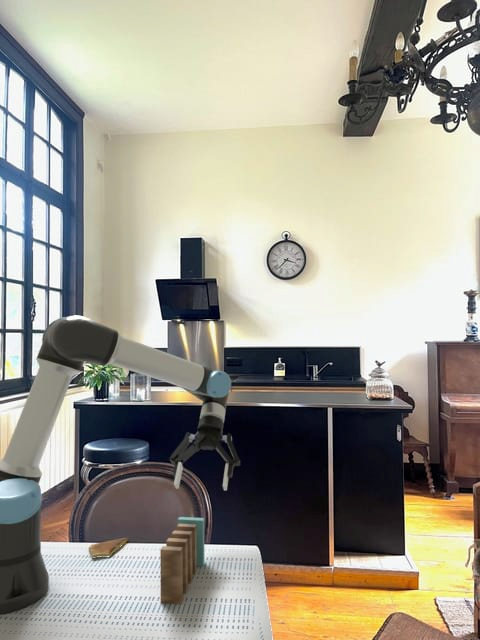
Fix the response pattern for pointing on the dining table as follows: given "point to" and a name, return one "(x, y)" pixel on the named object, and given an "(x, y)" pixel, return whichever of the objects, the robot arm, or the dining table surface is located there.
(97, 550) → the shard
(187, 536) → the domino
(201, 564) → the domino
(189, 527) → the domino
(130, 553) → the dining table surface
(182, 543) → the domino
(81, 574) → the dining table surface
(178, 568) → the domino
